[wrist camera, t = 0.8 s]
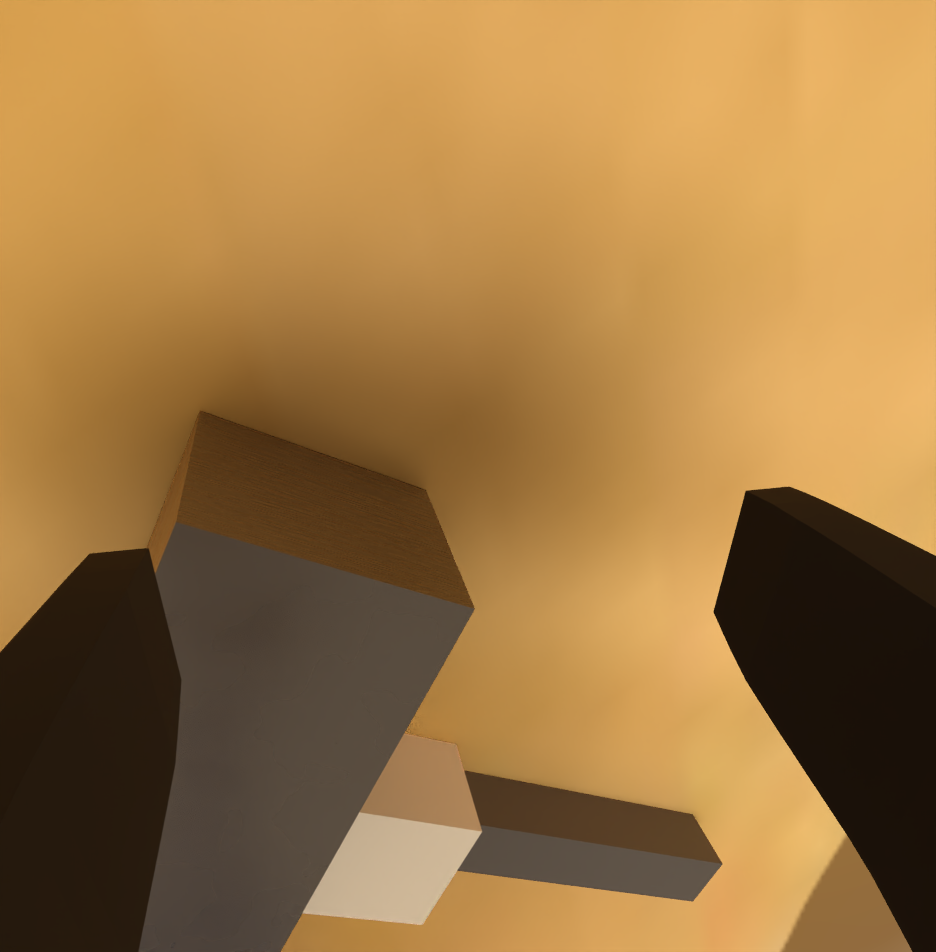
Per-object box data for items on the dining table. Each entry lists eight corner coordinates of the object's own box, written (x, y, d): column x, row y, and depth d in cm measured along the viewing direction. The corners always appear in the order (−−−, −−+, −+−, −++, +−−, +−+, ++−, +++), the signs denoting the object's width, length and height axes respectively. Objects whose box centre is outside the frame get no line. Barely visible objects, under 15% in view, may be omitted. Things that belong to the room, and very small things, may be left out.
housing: (177, 975, 26) (157, 1168, 21) (-16, 963, 24) (-87, 1177, 19) (426, 490, 20) (474, 608, 15) (200, 410, 18) (175, 521, 13)
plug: (652, 867, 30) (694, 951, 27) (292, 813, 24) (295, 912, 21) (706, 795, 29) (757, 874, 26) (341, 719, 23) (352, 811, 20)
